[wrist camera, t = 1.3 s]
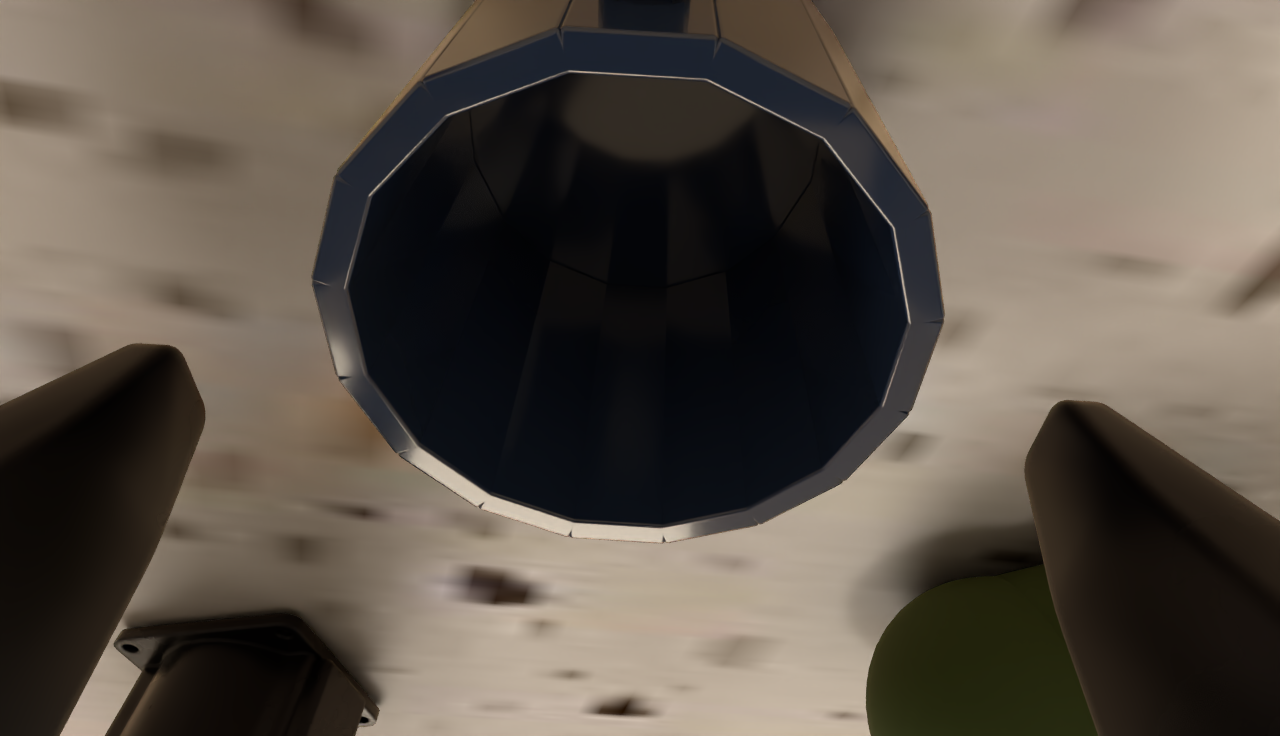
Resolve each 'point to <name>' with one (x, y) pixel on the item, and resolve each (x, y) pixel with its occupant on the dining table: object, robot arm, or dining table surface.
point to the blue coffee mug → (631, 266)
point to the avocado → (977, 664)
